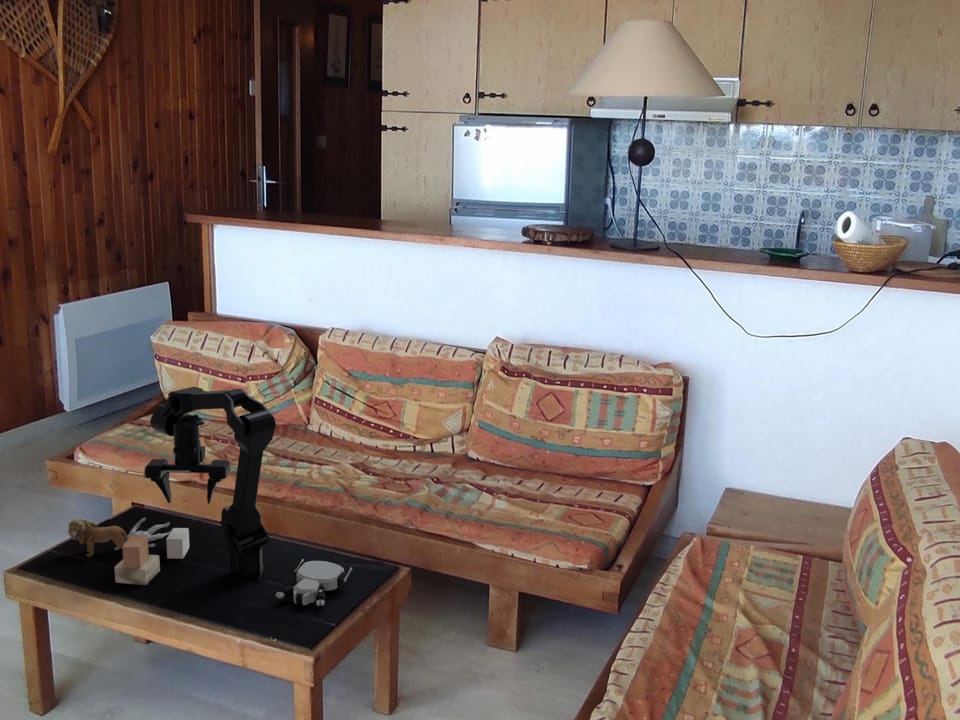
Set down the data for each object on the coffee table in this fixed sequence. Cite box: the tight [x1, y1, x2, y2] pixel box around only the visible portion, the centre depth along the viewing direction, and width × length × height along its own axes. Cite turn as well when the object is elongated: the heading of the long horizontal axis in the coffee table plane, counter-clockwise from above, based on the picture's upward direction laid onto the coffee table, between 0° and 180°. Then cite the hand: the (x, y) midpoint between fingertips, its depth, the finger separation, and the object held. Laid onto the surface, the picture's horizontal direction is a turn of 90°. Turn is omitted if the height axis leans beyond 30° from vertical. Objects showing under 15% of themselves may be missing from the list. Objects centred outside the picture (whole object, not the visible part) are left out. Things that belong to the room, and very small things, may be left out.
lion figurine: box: [67, 518, 128, 558], centre depth 216 cm, size 15×5×9 cm, turn 106°
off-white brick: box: [165, 527, 190, 560], centre depth 219 cm, size 4×6×5 cm, turn 3°
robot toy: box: [275, 558, 353, 607], centre depth 203 cm, size 12×4×15 cm
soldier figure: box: [122, 517, 171, 549], centre depth 223 cm, size 8×5×12 cm
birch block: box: [114, 554, 161, 586], centre depth 207 cm, size 7×7×4 cm
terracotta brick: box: [122, 535, 150, 568], centre depth 206 cm, size 4×6×5 cm, turn 3°
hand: (189, 502), depth 220 cm, fingers open, 9 cm apart
